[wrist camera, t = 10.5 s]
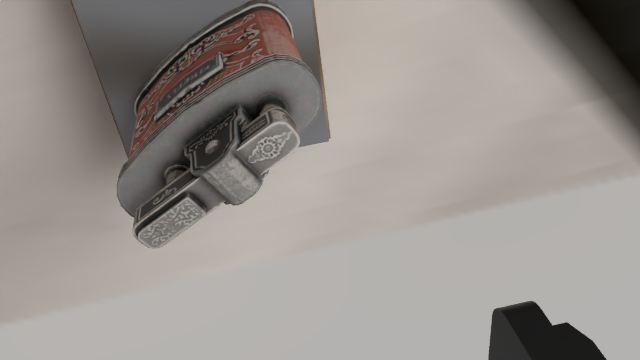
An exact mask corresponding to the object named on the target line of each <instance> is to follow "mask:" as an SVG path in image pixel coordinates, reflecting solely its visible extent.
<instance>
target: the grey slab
mask: <svg viewBox="0 0 640 360" xmlns="http://www.w3.org/2000/svg"><path fill="white" fill-rule="evenodd" d="M247 1H249V0H71V3H72V6H73V9H74V11H75V14H76V17H77V19H78V22H79V25H80V28H81V30H82V33H83V36H84V39H85V41H86V44H87V47H88V50H89V52H90V55H91V58H92V60H93V63H94V66H95V69H96V71H97V74H98V77H99V80H100V82H101V85H102V88H103V91H104V93H105V96H106V99H107V101H108V104H109V107H110V110H111V112H112V115H113V118H114V121H115V123H116V126H117V129H118V132H119V134H120V137H121V140H122V142H123V145H124V148H125V151H126V153H127V156H128V158H129V152H130V147H131V142H132V137H133V132H134V127H135V122H136V115H135V112H134V107H135V99H136V95H137V93H138V91H139V88H140V87H141V86H142V85H143V83H144V82H145V81H146V80H147V79H148V77H149V76H150V75H151V74H152V72H153V71H154V70H155V69H156V68H157V66H158V65H159V64H160V63H161V62H162V61H163V60H164V59H165V58H166V57H167V56H168V55H169V54H170V53H171V52H172V51H173V50H175V49H176V48H177V47H178V46H179V45H180V44H181V43H182V42H183V41H184V40H185V39H186V38H188V37H189V36H190V35H192V34H193V33H195V32H196V31H198V30H199V29H201V28H202V27H204V26H205V25H206V24H208V23H209V22H211V21H212V20H214V19H215V18H217V17H218V16H220V15H222V14H224V13H226V12H228V11H230V10H232V9H234V8H236V7H237V6H239V5H241V4H243V3H245V2H247ZM270 1H272V2H274V3H276V4H277V5H278V6H279V7H280V8H281V9H282V10H283V11H284V12H285V14H286V16H287V17H288V19H289V21H290V23H291V26H292V30H293V35H294V37H293V40H294V43H295V45H296V47H297V50H298V52H299V54H300V57H301V59H302V61H303V62H304V63H305V64H306V65H307V66H308V67H309V68H310V69H311V71H312V73H313V75H314V77H315V78H316V80H317V82H318V85H319V87H320V90H321V97H322V104H321V109H320V112H319V114H318V115H317V117H316V119H315V120H314V122H313V123H312V124H311V125H310V126H309V127H308V128H307V129H306V130H305V131H304V132H303V133H302V134H301V135H300V136H299V137H300V144H299V146H298V147H302V146H307V145H312V144H317V143H322V142H327V141H329V140H328V139H329V138H331V137H330V129H329V121H328V113H327V105H326V97H325V89H324V81H323V73H322V65H321V57H320V49H319V41H318V33H317V25H316V17H315V9H314V1H313V0H270Z"/></svg>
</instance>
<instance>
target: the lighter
mask: <svg viewBox="0 0 640 360" xmlns="http://www.w3.org/2000/svg"><path fill="white" fill-rule="evenodd" d="M293 37H294V35H293V30H292V26H291V23H290V21H289V19H288V17H287V16H286V14H285V12H284V11H283V10H282V9H281V8H280V7H279V6H278V5H277V4H276V3H274V2H272V1H270V0H249V1H247V2H245V3H243V4H241V5H239V6H237V7H236V8H234V9H232V10H230V11H228V12H226V13H224V14H222V15H220V16H218V17H217V18H215V19H214V20H212V21H211V22H209V23H208V24H206V25H205V26H204V27H202V28H201V29H199V30H198V31H196V32H195V33H193V34H192V35H190V36H189V37H188V38H186V39H185V40H184V41H183V42H182V43H181V44H180V45H179V46H178V47H177V48H176V49H175V50H173V51H172V52H171V53H170V54H169V55H168V56H167V57H166V58H165V59H164V60H163V61H162V62H161V63H160V64H159V65H158V66H157V68H156V69H155V70H154V71H153V72H152V74H151V75H150V76H149V77H148V79H147V80H146V81H145V82H144V83H143V85H142V86H141V87H140V88H139V91H138V93H137V95H136V99H135V107H134V112H135V115H136V122H135V127H134V132H133V137H132V142H131V147H130V152H129V158H128V161H127V162H126V163H125V164H124V165H123V167H122V169H121V171H120V174H119V177H118V182H117V197H118V200H119V202H120V204H121V206H122V207H123V208H124V209H125V211H126V212H127V213H128V214H129V215H131V216H132V217H134V223H133V230H132V232H133V236H134V237H135V238H136V239H137V240H138V241H139V242H141V243H142V244H143V245H145V246H147V247H148V248H153V249H155V248H160V247H162V246H164V245H166V244H167V243H168V242H170V241H171V240H172V239H174V238H175V237H177V236H178V235H179V234H181V233H182V232H184V231H185V230H186V229H188V228H189V227H190V226H192V225H193V224H195V223H196V222H197V221H199V220H200V219H202V218H203V217H204V216H206V215H207V214H208V213H210V212H211V211H213V210H214V209H215V208H217V207H218V206H220V205H221V204H222V203H225V204H232V205H239V204H242V203H243V202H245V201H246V200H248V199H249V198H250V197H252V196H253V195H254V194H255V193H256V192H257V191H258V190H259V188H260V187H261V185H262V182H263V180H264V179H265V177H266V176H267V174H268V172H269V169H271V168H272V167H273V166H275V165H276V164H278V163H279V162H280V161H282V160H283V159H285V158H286V157H287V156H289V155H290V154H291V153H293V152H294V151H295V150H296V149H297V148H298V146H299V144H300V137H299V136H300V135H301V134H302V133H303V132H304V131H305V130H306V129H307V128H308V127H309V126H310V125H311V124H312V123H313V122H314V120H315V119H316V117H317V115H318V114H319V112H320V109H321V104H322V97H321V90H320V87H319V85H318V82H317V80H316V78H315V77H314V75H313V73H312V71H311V69H310V68H309V67H308V66H307V65H306V64H305V63H304V62H303V61H302V59H301V57H300V54H299V52H298V50H297V47H296V45H295V43H294V40H293Z"/></svg>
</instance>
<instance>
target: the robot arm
mask: <svg viewBox="0 0 640 360" xmlns="http://www.w3.org/2000/svg"><path fill="white" fill-rule="evenodd" d="M489 360H606V358H605V357H604V356H603V354H602V353H601V352H600V350H599V349H598V347H597V346H596V345H595V343H594V342H593V341H592V340H590V339H589V338H588V337H586V336H585V335H584V334H582V333H581V332H580V331H578V330H577V329H575V328H574V327H573V326H571V325H570V324H569V323H562V324H558V325H553V326H552V324H551V323H550V321H549V320H548V318H547V317H546V316H545V314H544V313H543V311H542V310H541V309H540V307H539V306H538V305H537V304H536V303H535V302H533V301H528V302H524V303H519V304H515V305H510V306H506V307H501V308H497V309H495V310H494V311H493V315H492V325H491V336H490V346H489Z"/></svg>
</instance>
